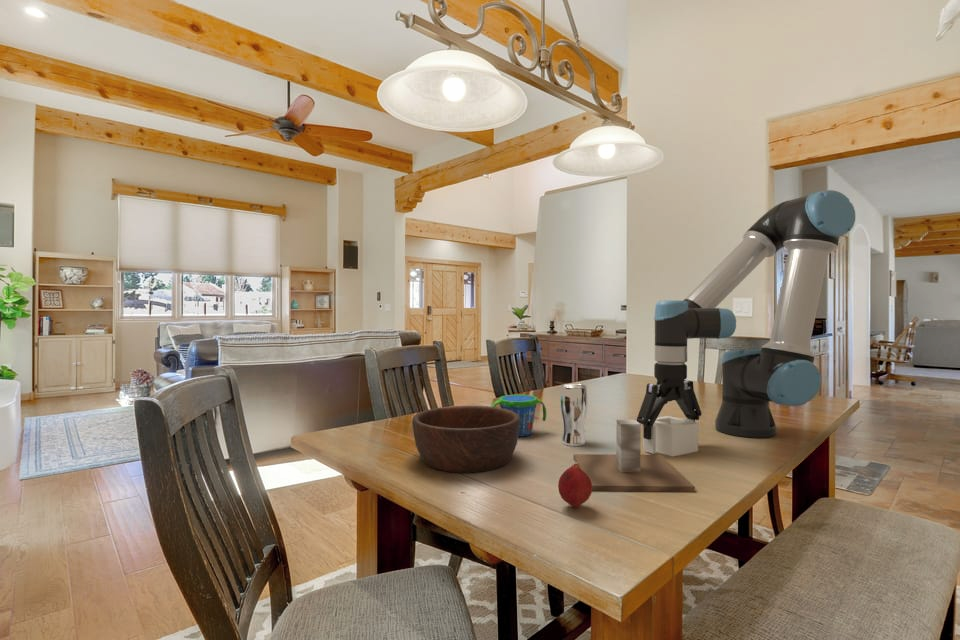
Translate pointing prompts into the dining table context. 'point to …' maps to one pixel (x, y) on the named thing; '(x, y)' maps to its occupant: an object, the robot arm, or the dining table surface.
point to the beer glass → (573, 413)
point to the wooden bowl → (466, 437)
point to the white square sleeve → (675, 436)
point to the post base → (632, 480)
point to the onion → (575, 486)
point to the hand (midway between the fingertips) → (669, 448)
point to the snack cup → (522, 410)
